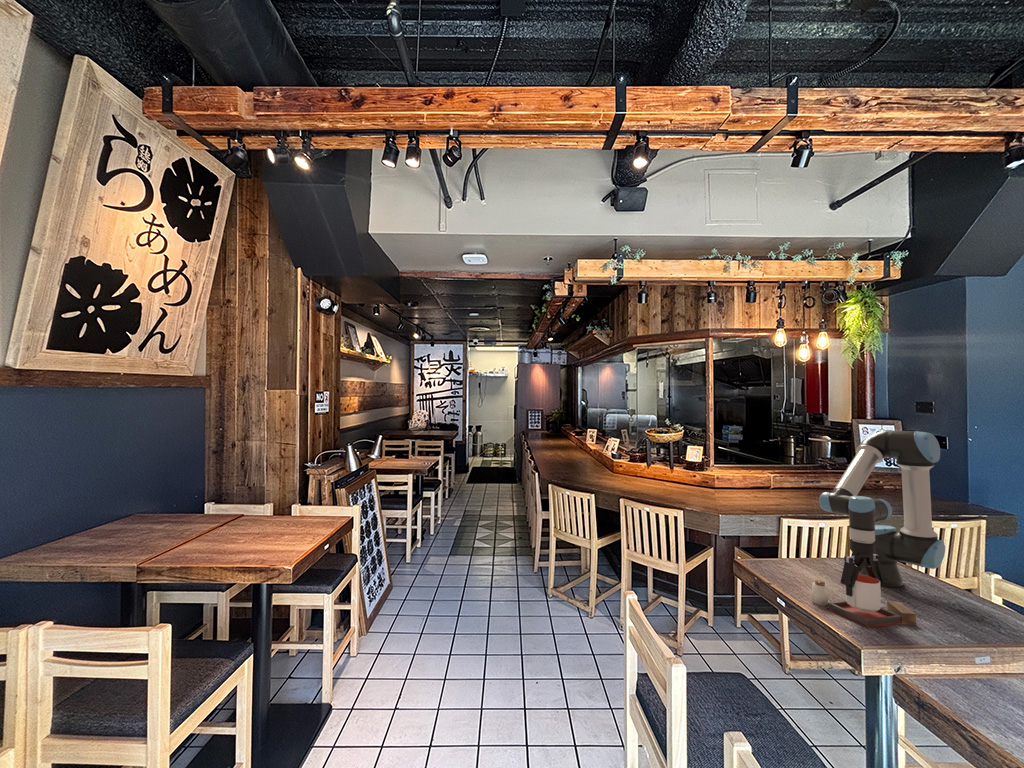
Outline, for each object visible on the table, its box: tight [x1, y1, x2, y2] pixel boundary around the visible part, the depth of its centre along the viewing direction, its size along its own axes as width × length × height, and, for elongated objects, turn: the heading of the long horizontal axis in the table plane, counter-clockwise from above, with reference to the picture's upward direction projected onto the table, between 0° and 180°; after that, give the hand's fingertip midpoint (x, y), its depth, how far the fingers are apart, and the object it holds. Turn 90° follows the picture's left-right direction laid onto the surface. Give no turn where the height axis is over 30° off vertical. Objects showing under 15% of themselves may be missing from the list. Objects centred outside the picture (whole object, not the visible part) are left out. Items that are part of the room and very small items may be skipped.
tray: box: [827, 599, 902, 629], centre depth 169 cm, size 15×15×2 cm
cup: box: [845, 574, 882, 612], centre depth 169 cm, size 10×10×10 cm
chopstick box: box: [886, 600, 917, 626], centre depth 167 cm, size 4×10×4 cm, turn 165°
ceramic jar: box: [811, 579, 829, 607], centre depth 179 cm, size 5×5×8 cm
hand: (863, 603), depth 169 cm, fingers closed on cup, 10 cm apart
